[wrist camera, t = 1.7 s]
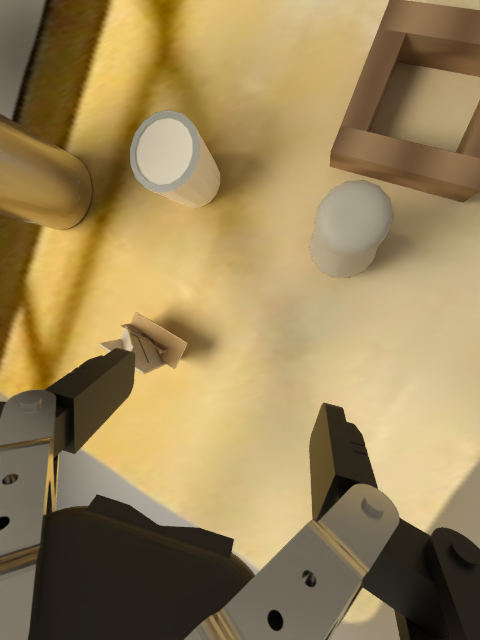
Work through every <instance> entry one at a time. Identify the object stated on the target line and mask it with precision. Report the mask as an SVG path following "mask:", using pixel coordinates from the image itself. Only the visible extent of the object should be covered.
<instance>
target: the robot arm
mask: <svg viewBox="0 0 480 640" xmlns="http://www.w3.org/2000/svg"><path fill="white" fill-rule="evenodd" d="M91 196H92V184H91V179H90V176H89V173H88V170H87V169H86V167H85V165H84V164H83V163H82V162H81V161H80V160H79V159H78V158H77V157H75V156H73V155H72V154H70V153H68V152H66V151H65V150H63V149H61V148H59V147H58V146H56V145H54V144H52V143H51V142H49V141H47V140H46V139H44V138H42V137H40V136H39V135H37V134H35V133H33V132H32V131H30V130H28V129H26V128H24V127H23V126H21V125H19V124H17V123H16V122H14V121H12V120H10V119H9V118H7V117H5V116H3V115H1V114H0V215H2V216H6V217H10V218H14V219H18V220H22V221H25V222H29V223H33V224H37V225H41V226H45V227H49V228H53V229H59V230H64V229H68V228H71V227H73V226H75V225H76V224H77V223H79V222H80V221H81V219H82V218H83V217H84V216H85V214H86V212H87V210H88V208H89V205H90V202H91ZM134 372H135V353H134V352H132V351H128V350H124V349H121V348H115V349H113V350H112V351H110V352H109V353H108V354H106V355H105V356H98V357H95V358H92V359H89V360H87V361H86V362H85V363H83V364H82V365H80V366H79V368H78V367H77V368H76V369H74V370H73V371H72V372H71V373H69V374H67V375H66V376H64V377H63V378H61V379H60V380H58V381H57V382H55V383H54V384H53V385H51V386H50V387H48V388H47V389H45V390H30V391H25V392H22V393H19V394H17V395H15V396H13V397H11V398H10V399H9V400H8V401H7V402H0V640H330V639H331V638H332V636H333V635H334V633H335V631H336V630H337V628H338V627H339V625H340V623H341V622H342V620H343V619H344V617H345V615H346V614H347V612H348V611H349V609H350V607H351V606H352V604H353V602H354V601H355V599H356V598H357V596H358V594H359V593H360V591H361V590H362V588H365V589H366V590H367V591H369V592H370V593H372V594H373V595H375V596H376V597H377V598H379V599H380V600H382V601H383V602H385V603H386V604H388V605H389V606H390V607H392V608H393V609H394V610H395V615H396V620H397V626H398V630H399V636H400V640H480V549H479V548H478V547H477V546H476V545H475V544H474V543H473V542H472V541H470V540H469V539H468V538H466V537H465V536H463V535H462V534H460V533H458V532H456V531H454V530H452V529H448V528H443V527H442V528H437V529H435V530H434V531H433V533H432V534H431V536H430V535H428V534H426V533H425V532H423V531H421V530H420V529H418V528H416V527H414V526H413V525H411V524H409V523H407V522H406V521H404V520H402V519H401V518H400V517H399V514H398V511H397V509H396V507H395V505H394V504H393V502H392V501H391V500H390V499H389V498H388V497H387V496H386V495H385V494H384V493H383V492H381V491H380V490H378V487H377V484H376V480H375V477H374V473H373V470H372V466H371V463H370V460H369V457H368V453H367V449H366V447H365V442H364V439H363V436H362V434H361V432H360V431H359V430H358V428H357V427H356V426H355V425H354V424H352V423H349V422H346V418H345V414H344V410H343V408H342V407H339V406H335V405H331V404H327V403H323V404H322V406H321V408H320V411H319V414H318V417H317V420H316V422H315V425H314V428H313V431H312V434H311V438H310V445H309V452H310V473H311V494H312V515H313V519H312V520H311V521H310V522H308V523H307V524H306V525H305V526H304V527H303V528H302V529H301V530H300V531H299V532H298V533H297V534H296V535H295V536H294V537H293V538H292V539H291V540H290V541H289V542H288V543H287V544H286V545H285V546H284V547H283V548H282V549H281V550H280V551H279V552H278V553H277V554H276V555H275V556H274V557H273V558H272V559H271V560H270V561H269V562H268V563H267V564H266V565H265V566H264V567H263V568H262V569H261V570H260V571H259V573H257V575H254V573H253V572H252V571H251V569H249V567H248V566H247V565H246V564H245V563H244V562H243V561H242V560H241V559H240V558H238V557H237V556H236V555H234V554H233V553H232V552H231V551H232V546H233V541H234V539H232V538H229V537H226V536H223V535H219V534H216V533H213V532H210V531H207V530H204V529H201V528H193V527H171V526H160V525H158V524H156V523H155V522H153V521H152V520H150V519H149V518H147V517H146V516H144V515H143V514H142V513H140V512H139V511H137V510H136V509H134V508H133V507H132V506H130V505H128V504H125V503H122V502H119V501H116V500H113V499H110V498H106V497H103V496H100V495H96V497H95V498H94V499H93V501H92V502H91V504H90V505H89V506H76V507H70V508H65V509H61V510H58V511H56V500H57V483H58V467H59V453H60V452H61V451H62V450H64V451H67V452H70V453H73V454H75V453H76V452H77V451H78V450H79V449H80V448H81V447H82V446H83V445H84V444H85V443H86V442H87V440H88V439H89V438H90V437H91V436H92V435H93V434H94V433H95V432H96V431H97V430H98V429H99V428H100V427H101V426H102V424H103V423H104V422H105V421H106V420H107V419H108V418H109V417H110V416H111V415H112V414H113V413H114V412H115V411H116V409H117V408H118V407H119V406H120V405H121V404H122V403H123V402H124V401H125V400H126V399H127V398H128V396H129V395H130V393H131V391H132V388H133V384H134Z"/></svg>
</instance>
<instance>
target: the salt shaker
mask: <svg viewBox="0 0 480 640" xmlns="http://www.w3.org/2000/svg"><path fill="white" fill-rule="evenodd" d="M392 219H393V211H392V206H391V202H390V198H389V197H388V196H387V195H386V193H385V192H384V191H383V190H382V189H381V187H380V186H378V185H375V184H372V183H370V182H367V181H364V180H361V181H347V182H345V183H343V184H341V185H339V186H338V187H336V188H334V189H332V190H331V191H330V192H329V193H328V195H327V196H326V197H325V198H324V199H323V201H322V202H321V203H320V205H319V206H318V210H317V215H316V219H315V227H316V229H315V231H314V232H313V234H312V238H311V242H310V246H309V248H310V253H311V258H312V261H313V262H314V264H315V265H316V266H317V268H318V269H319V270H320V271H321V272H322V273H325V274H327V275H329V276H331V277H333V278H350V277H352V276H355V275H357V274H359V273H362V272H364V271H365V270H366V268H367V267H368V266H369V265H370V264H371V263H372V261H373V260H374V258H375V255H376V252H377V249H378V246H379V245H380V243H381V242H382V241H383V240H384V239H385V238H386V236H387V235H388V232H389V229H390V226H391V223H392Z"/></svg>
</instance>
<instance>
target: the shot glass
mask: <svg viewBox="0 0 480 640" xmlns="http://www.w3.org/2000/svg"><path fill="white" fill-rule="evenodd" d="M130 165H131V168H132V170H133V173H134V175H135V178H136V179H137V180H138V181H139V182H140V183H141V184H142V185H143V186H144V187H145V188H146V189H148V190H150V191H153V192H155V193H157V194H159V195H162V196H164V197H166V198H169V199H171V200H173V201H176V202H178V203H180V204H182V205H185V206H188V207H190V208H198V207H203V206H204V205H206V204H208V203H210V202H211V201H212V199H213V198H214V197H215V196H216V195H217V192H218V189H219V186H220V172H219V169H218V167H217V164H216V163H215V161H214V159H213V157H212V155H211V154H210V152H209V150H208V148H207V146H206V145H205V143H204V141H203V139H202V138H201V136H200V134H199V132H198V130H197V129H196V127H195V125H194V123H192V122H191V121H190V120H189V119H188V118H187V117H186V116H185V115H184V114H182V113H179V112H175V111H172V110H167V111H162V112H157V113H155V114H153V115H152V116H150V117H149V118H147V119H146V120H145V121H143V123H142V124H141V126H140V127H139V128H138V130H137V131H136V133H135V134H134V137H133V141H132V144H131V148H130Z"/></svg>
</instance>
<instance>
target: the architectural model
mask: <svg viewBox="0 0 480 640" xmlns="http://www.w3.org/2000/svg"><path fill="white" fill-rule="evenodd" d="M124 326H126V327H124ZM121 327H124V328H125V329H124V331H123V334H122V336H121V339H119V340H114V341H109V342H104V343H100V344H99V346H101V347H102V348H104V349H105V350H107V351H108V352H110V351H112V350H113V349H115V348H121V349H124V350H128V351H132V352H134V353H135V369H136V370H137V371H139V372H140V373H142V374H145V373H148V372H150V371H152V370H155V369H157V368H159V367H162V366H164V365H166V364H167V365H169V366H170V367H172V368H173V369H175V368H176V367H177V365H178V363H179V361H180V359H181V357H182V354H183V352H184V350H185V348H186V346H187V344H188V343H187V342H185V341H184V340H182V339H180V338H179V337H177V336H175V335H174V334H172V333H170V332H169V331H167V330H166V329H164V328H162V327H161V326H159V325H157V324H156V323H154V322H152V321H151V320H149V319H147V318H146V317H144V316H142V315H141V314H139V313H138V312H136V313H135V314H134V317H133V319H132V321H131V324H125V325H121ZM142 333H143V334H144V336H145V335H146V336H148V337H150V339H151V340H152V341H151V340H149V339H148V338H146V336H145V337H144V336H143V335H142Z"/></svg>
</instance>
